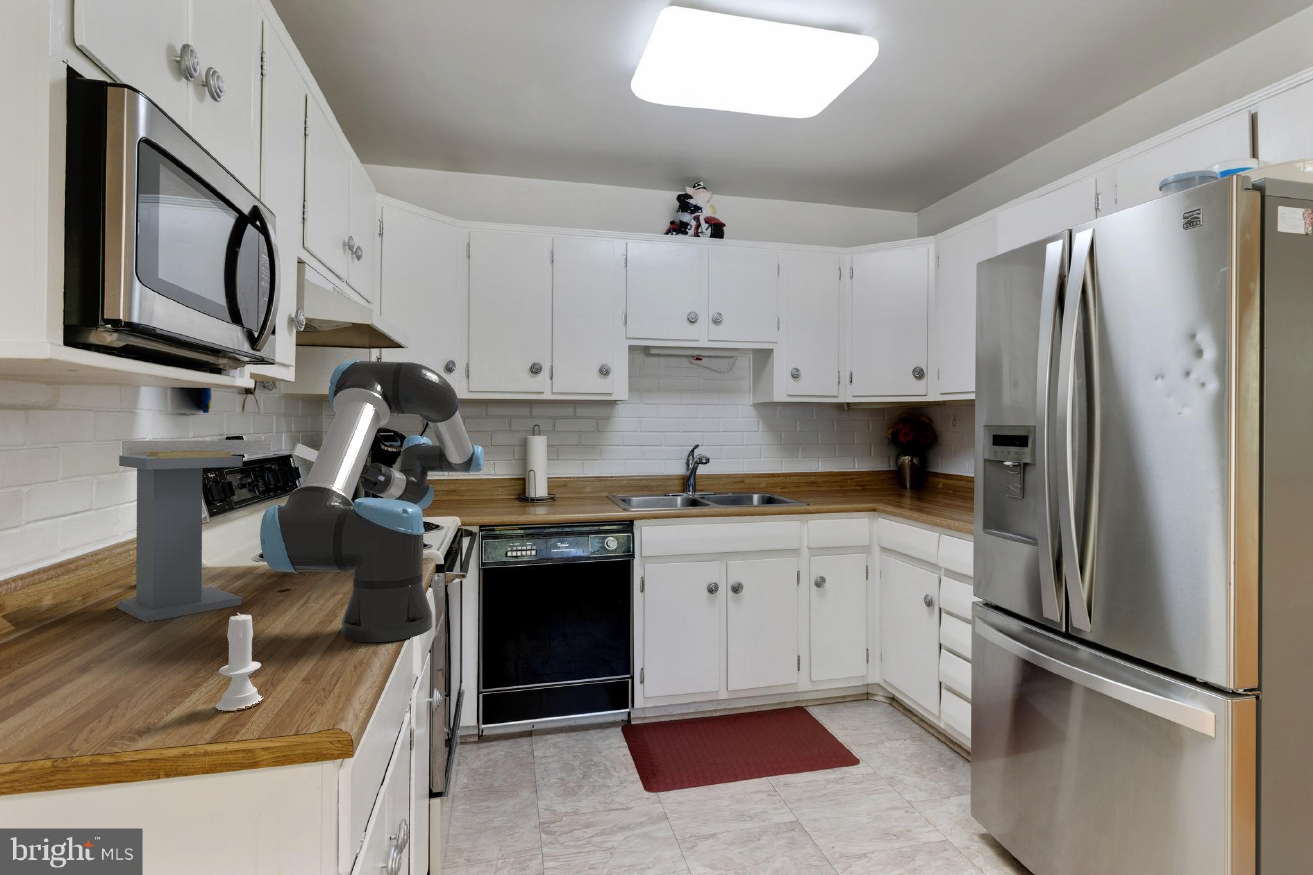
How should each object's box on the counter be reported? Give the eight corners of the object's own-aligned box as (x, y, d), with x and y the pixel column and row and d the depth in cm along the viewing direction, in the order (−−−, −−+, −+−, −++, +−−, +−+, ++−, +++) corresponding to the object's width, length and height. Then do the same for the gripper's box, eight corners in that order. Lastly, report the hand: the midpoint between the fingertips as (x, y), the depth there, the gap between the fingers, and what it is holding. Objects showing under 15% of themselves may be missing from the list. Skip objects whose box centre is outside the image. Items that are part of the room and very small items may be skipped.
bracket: (216, 455, 137) (216, 450, 137) (231, 456, 133) (231, 451, 133) (146, 456, 128) (146, 451, 128) (159, 458, 123) (159, 452, 123)
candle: (208, 714, 84) (209, 619, 84) (225, 697, 89) (225, 608, 89) (255, 710, 85) (256, 617, 85) (269, 694, 91) (270, 606, 91)
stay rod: (264, 453, 151) (264, 440, 151) (270, 453, 149) (270, 440, 149) (121, 455, 130) (121, 440, 130) (127, 456, 128) (127, 440, 128)
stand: (210, 593, 144) (211, 454, 144) (241, 604, 135) (242, 456, 135) (118, 608, 131) (119, 455, 131) (145, 622, 122) (146, 458, 122)
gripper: (408, 503, 165) (336, 476, 148) (347, 486, 178) (274, 459, 161) (420, 475, 167) (351, 444, 150) (358, 460, 180) (288, 430, 163)
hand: (311, 452), depth 155 cm, fingers open, 13 cm apart
